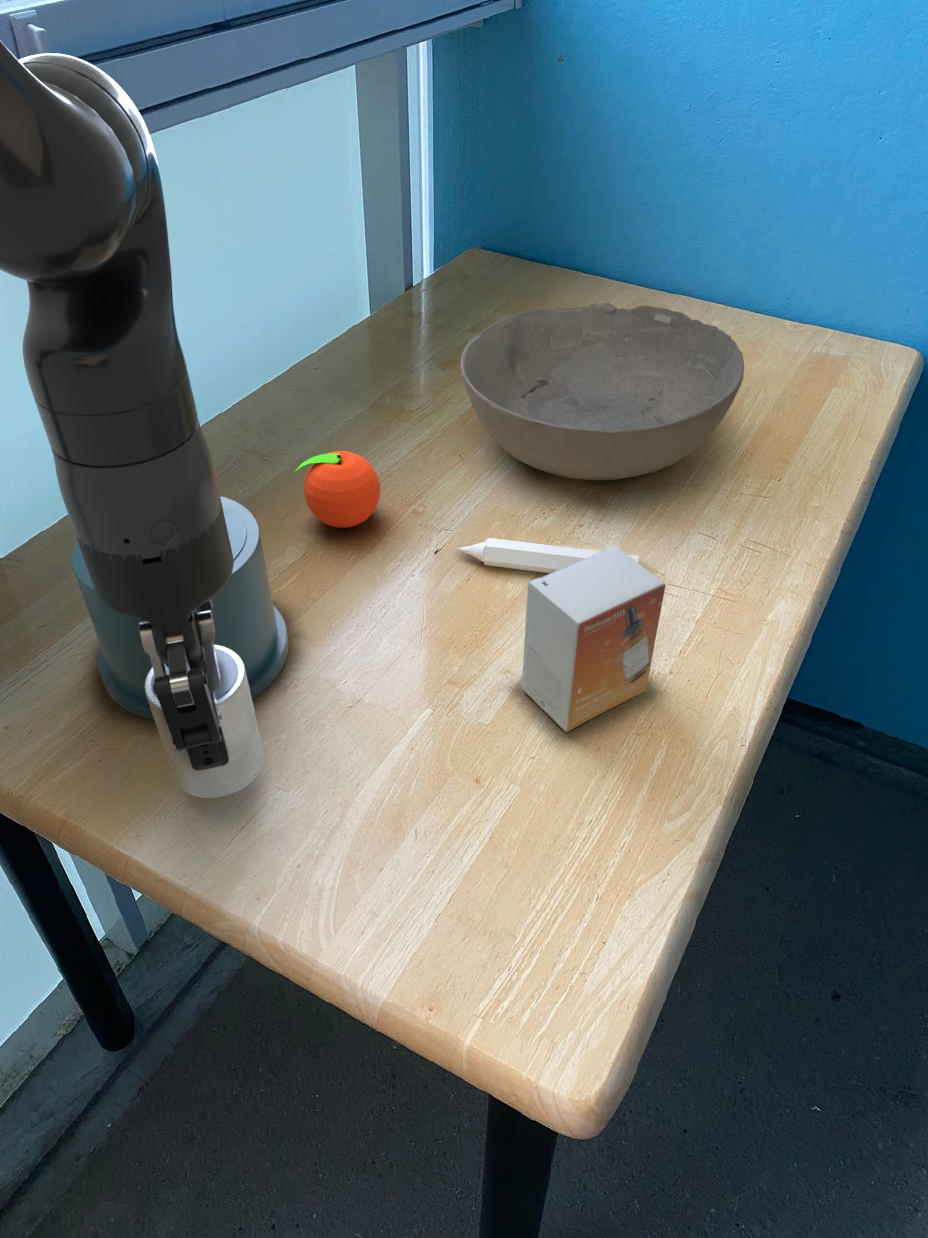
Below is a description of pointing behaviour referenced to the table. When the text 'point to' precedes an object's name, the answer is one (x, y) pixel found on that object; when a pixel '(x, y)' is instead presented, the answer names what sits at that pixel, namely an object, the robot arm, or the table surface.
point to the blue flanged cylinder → (236, 612)
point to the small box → (590, 636)
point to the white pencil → (527, 555)
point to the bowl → (601, 387)
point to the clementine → (341, 488)
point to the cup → (236, 730)
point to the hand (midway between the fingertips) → (207, 724)
